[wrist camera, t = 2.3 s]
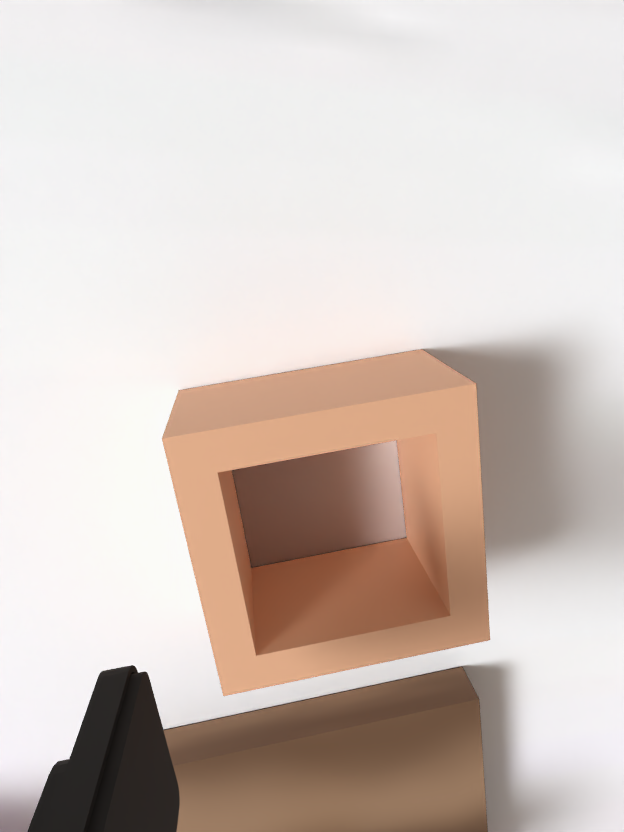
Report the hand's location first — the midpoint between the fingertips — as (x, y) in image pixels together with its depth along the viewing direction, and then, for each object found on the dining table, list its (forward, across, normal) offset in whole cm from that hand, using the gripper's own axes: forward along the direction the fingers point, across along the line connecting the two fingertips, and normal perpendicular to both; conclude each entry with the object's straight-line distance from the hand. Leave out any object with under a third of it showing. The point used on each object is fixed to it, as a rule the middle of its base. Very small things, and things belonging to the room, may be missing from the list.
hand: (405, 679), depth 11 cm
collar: (+7, +1, -1) cm, 8 cm away
